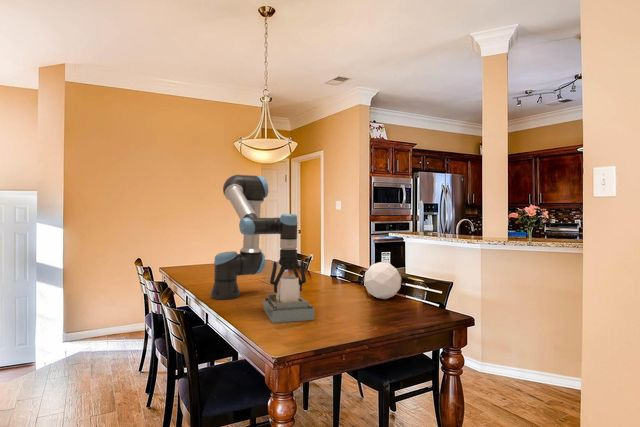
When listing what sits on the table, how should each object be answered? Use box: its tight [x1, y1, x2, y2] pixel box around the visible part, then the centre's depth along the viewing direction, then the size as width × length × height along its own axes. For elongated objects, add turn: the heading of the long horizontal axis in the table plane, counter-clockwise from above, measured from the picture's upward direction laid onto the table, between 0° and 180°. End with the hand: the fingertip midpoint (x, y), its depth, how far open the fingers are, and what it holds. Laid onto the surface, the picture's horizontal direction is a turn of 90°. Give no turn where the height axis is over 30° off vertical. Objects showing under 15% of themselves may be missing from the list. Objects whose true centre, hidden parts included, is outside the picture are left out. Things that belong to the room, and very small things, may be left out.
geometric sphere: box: [363, 261, 402, 300], centre depth 210 cm, size 19×20×20 cm
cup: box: [279, 275, 299, 302], centre depth 175 cm, size 8×12×10 cm
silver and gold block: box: [263, 293, 315, 324], centre depth 175 cm, size 22×18×8 cm
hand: (287, 299), depth 175 cm, fingers closed on cup, 9 cm apart
